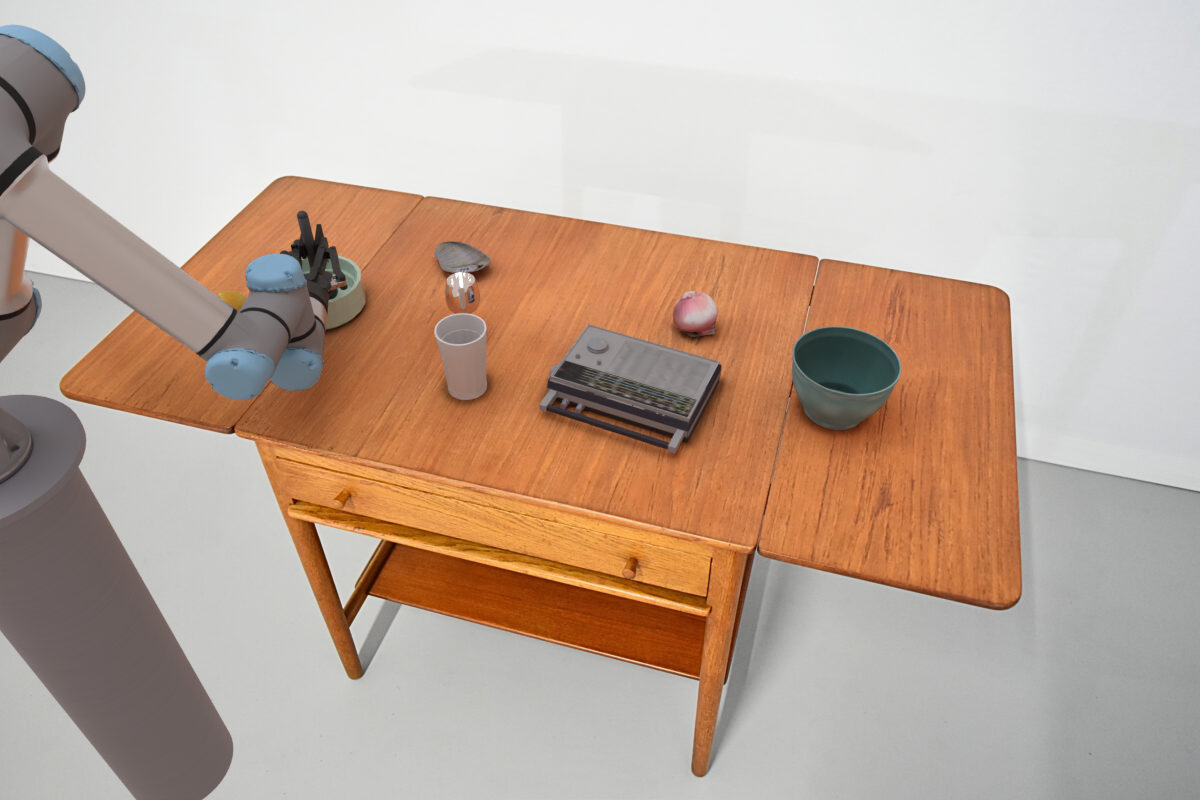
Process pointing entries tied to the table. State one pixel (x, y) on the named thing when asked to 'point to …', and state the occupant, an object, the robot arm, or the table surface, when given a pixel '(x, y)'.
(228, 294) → the bread roll
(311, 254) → the plunger
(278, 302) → the robot arm
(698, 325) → the onion
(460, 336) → the cup
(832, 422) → the flower pot
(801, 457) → the table surface
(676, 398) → the radio
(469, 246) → the seashell
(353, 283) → the bowl
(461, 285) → the wineglass
